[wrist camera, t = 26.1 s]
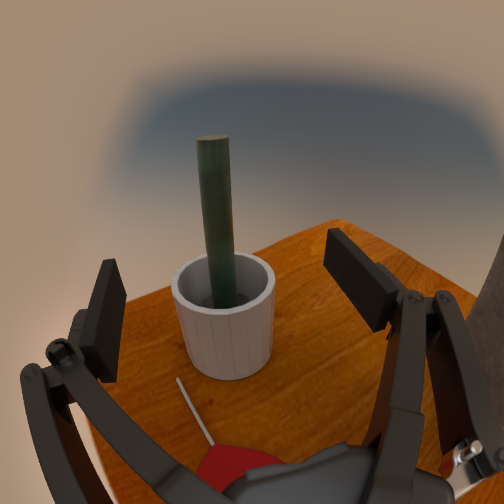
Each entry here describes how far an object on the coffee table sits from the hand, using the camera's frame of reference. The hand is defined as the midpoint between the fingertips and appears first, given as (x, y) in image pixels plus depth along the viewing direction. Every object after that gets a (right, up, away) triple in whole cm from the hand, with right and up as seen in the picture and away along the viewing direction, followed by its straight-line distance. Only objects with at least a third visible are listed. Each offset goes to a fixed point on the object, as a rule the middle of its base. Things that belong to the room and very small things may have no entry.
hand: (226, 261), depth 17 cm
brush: (-1, -9, +12) cm, 15 cm away
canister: (-1, -9, +12) cm, 15 cm away
